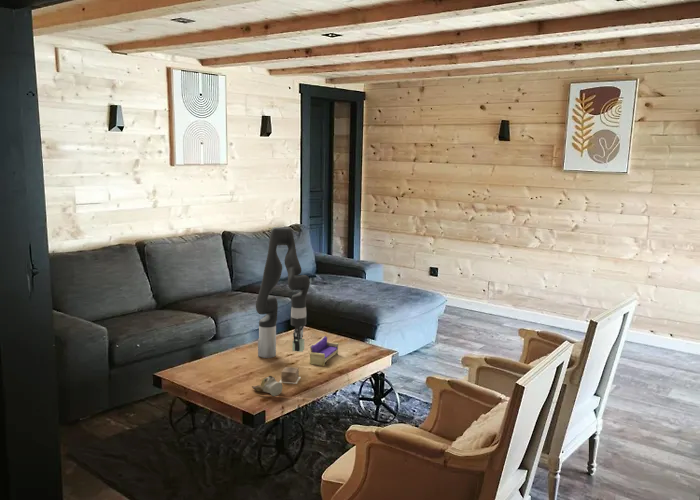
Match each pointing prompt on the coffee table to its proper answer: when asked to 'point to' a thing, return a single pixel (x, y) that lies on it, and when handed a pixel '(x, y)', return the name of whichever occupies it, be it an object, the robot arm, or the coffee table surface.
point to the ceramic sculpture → (269, 386)
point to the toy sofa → (322, 351)
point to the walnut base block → (290, 374)
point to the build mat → (291, 382)
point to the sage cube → (300, 345)
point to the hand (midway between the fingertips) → (298, 348)
